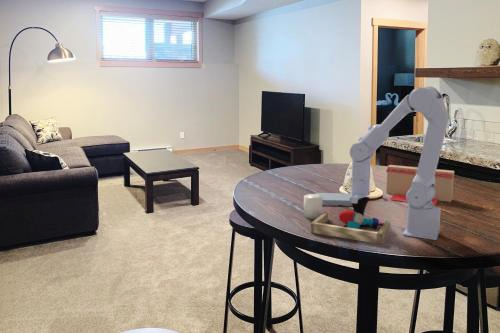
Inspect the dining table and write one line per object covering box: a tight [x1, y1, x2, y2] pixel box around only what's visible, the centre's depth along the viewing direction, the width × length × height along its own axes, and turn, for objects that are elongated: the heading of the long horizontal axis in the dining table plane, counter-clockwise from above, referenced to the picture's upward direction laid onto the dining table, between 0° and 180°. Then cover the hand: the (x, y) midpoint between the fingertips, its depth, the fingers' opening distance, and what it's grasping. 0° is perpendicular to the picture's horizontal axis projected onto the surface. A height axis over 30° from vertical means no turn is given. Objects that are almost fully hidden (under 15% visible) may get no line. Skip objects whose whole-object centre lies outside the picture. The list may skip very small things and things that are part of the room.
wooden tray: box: [310, 211, 391, 245], centre depth 135 cm, size 21×13×3 cm, turn 61°
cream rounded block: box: [303, 193, 323, 220], centre depth 151 cm, size 6×6×7 cm
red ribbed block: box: [385, 164, 455, 207], centre depth 168 cm, size 25×13×12 cm, turn 57°
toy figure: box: [338, 209, 385, 230], centre depth 140 cm, size 8×5×15 cm
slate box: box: [315, 192, 353, 207], centre depth 168 cm, size 14×10×2 cm
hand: (359, 218), depth 144 cm, fingers closed
